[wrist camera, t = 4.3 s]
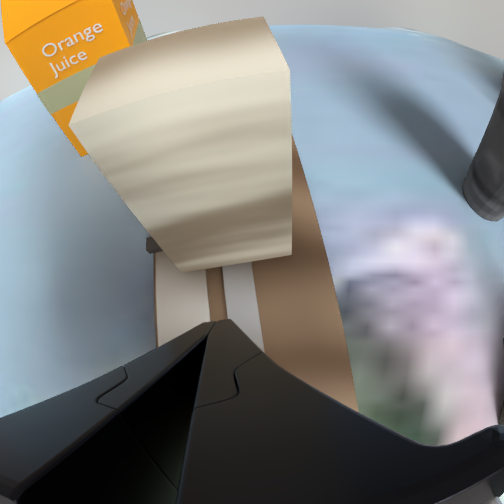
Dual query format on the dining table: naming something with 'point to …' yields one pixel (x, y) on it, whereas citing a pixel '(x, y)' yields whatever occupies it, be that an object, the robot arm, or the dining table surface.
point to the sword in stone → (503, 416)
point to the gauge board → (269, 302)
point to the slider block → (197, 141)
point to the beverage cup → (488, 169)
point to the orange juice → (66, 46)
